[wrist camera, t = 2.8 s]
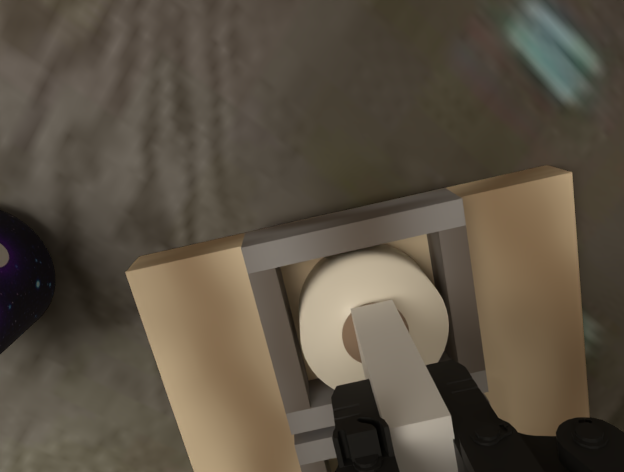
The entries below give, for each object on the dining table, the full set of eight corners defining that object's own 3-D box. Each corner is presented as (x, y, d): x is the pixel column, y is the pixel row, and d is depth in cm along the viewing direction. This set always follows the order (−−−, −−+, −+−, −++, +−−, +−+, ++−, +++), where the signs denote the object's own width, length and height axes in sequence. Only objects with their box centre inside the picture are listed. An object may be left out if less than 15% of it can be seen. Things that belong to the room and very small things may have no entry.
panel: (272, 655, 29) (269, 741, 25) (135, 245, 22) (103, 278, 18) (583, 588, 29) (629, 665, 25) (545, 153, 22) (602, 167, 18)
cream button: (314, 376, 21) (317, 414, 19) (285, 258, 20) (284, 283, 17) (439, 349, 21) (459, 383, 19) (419, 228, 20) (438, 248, 17)
